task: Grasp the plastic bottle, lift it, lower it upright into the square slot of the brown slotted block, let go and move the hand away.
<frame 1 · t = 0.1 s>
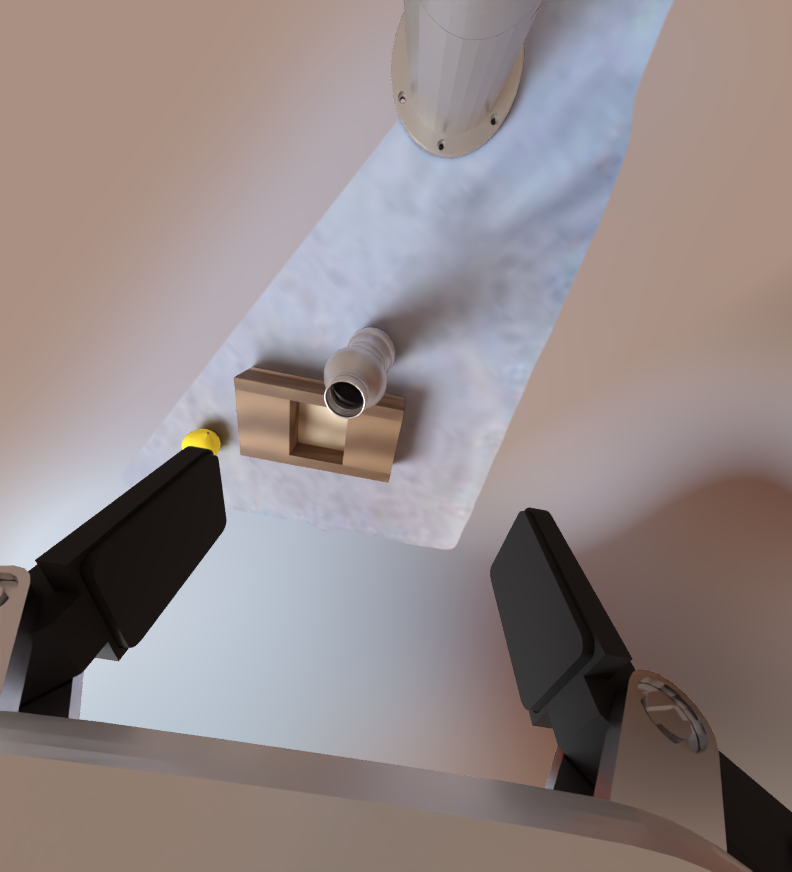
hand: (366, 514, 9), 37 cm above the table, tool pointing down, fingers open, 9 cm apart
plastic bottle: (374, 347, 43), on the table
lemon: (211, 436, 52), on the table
brown slotted block: (326, 419, 49), on the table
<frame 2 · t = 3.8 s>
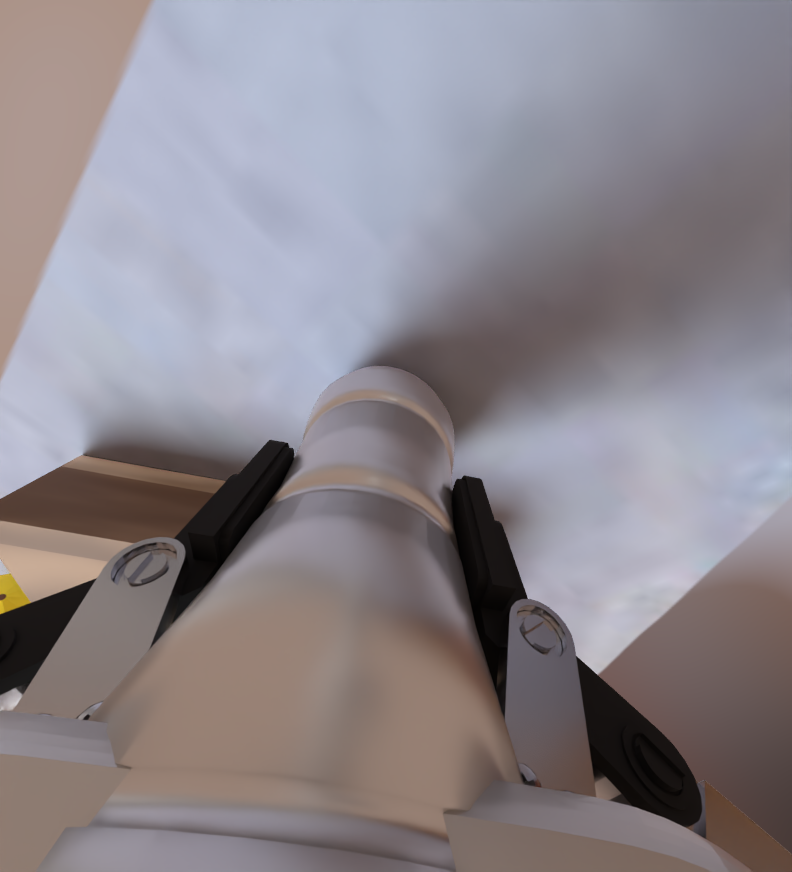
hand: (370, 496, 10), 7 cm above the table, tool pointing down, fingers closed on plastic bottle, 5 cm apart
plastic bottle: (386, 414, 16), on the table, touching gripper
lemon: (44, 577, 25), on the table
brown slotted block: (277, 558, 22), on the table
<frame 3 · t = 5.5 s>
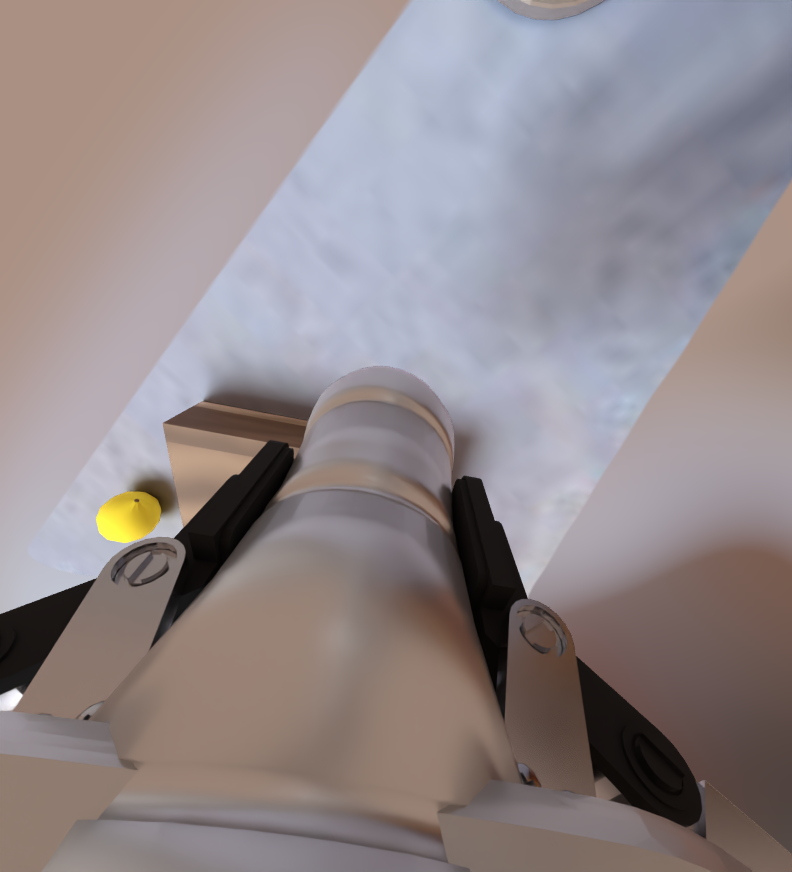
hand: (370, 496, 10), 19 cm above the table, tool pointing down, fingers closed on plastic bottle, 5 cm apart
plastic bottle: (386, 414, 16), point 12 cm above the table, touching gripper
lemon: (150, 499, 36), on the table
brown slotted block: (319, 476, 33), on the table
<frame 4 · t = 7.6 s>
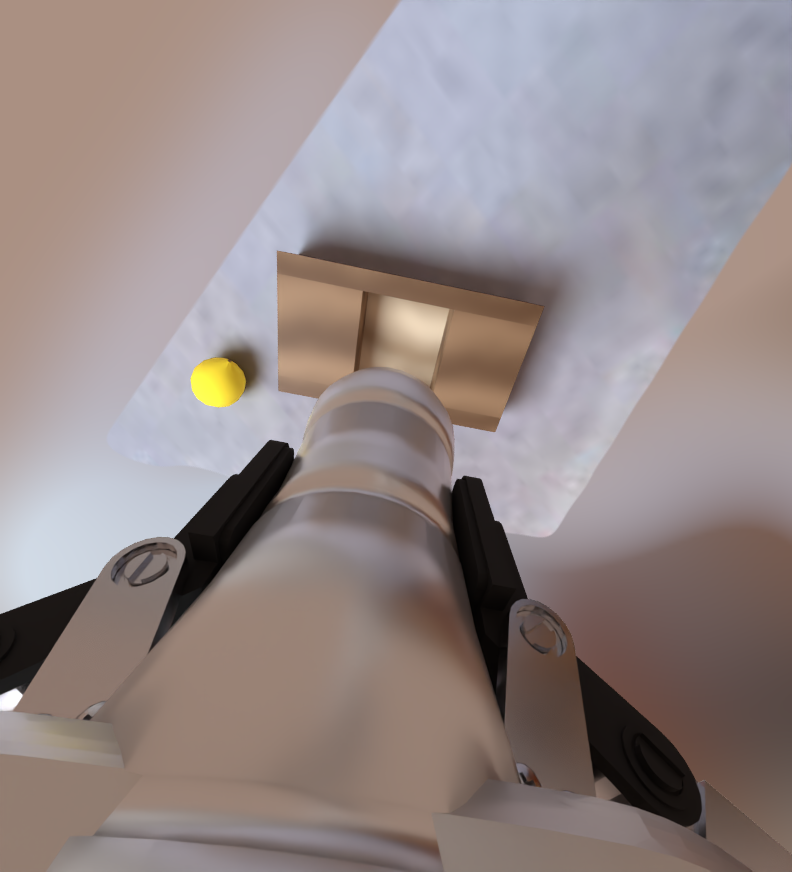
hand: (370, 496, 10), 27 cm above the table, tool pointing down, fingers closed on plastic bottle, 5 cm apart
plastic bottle: (386, 415, 16), point 20 cm above the table, touching gripper
lemon: (232, 374, 37), on the table
brown slotted block: (401, 342, 34), on the table
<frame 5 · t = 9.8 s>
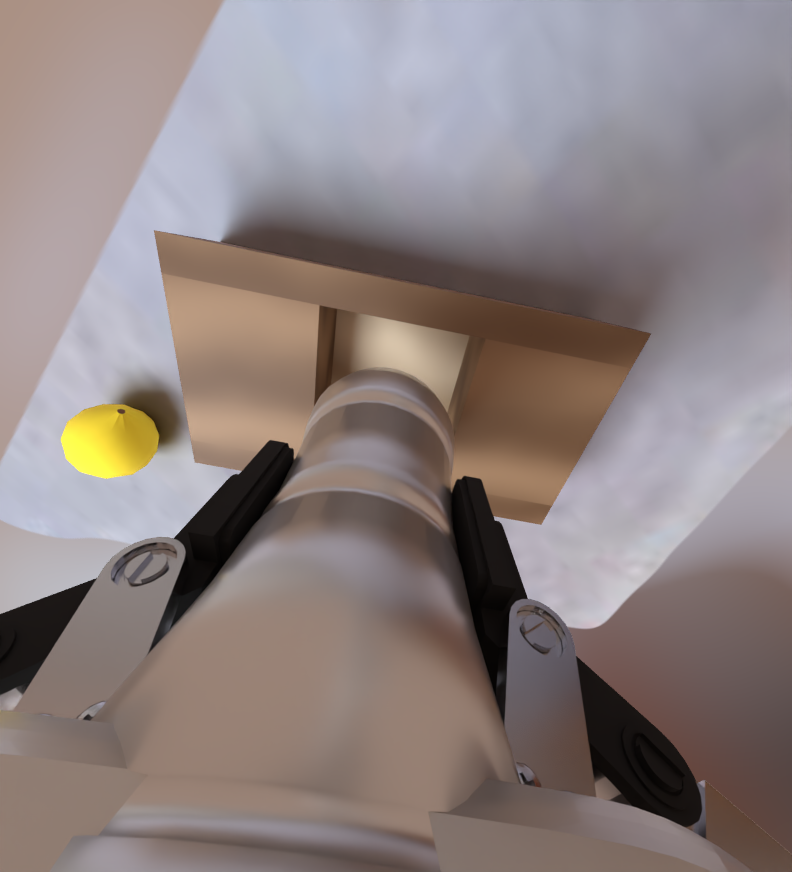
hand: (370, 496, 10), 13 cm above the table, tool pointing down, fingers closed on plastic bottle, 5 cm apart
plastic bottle: (386, 415, 16), point 7 cm above the table, touching gripper
lemon: (144, 423, 25), on the table
brown slotted block: (393, 380, 22), on the table
when the fingers open (9 cm above the table, at t = 11.4 s): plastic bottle drops 1 cm, resting on brown slotted block.
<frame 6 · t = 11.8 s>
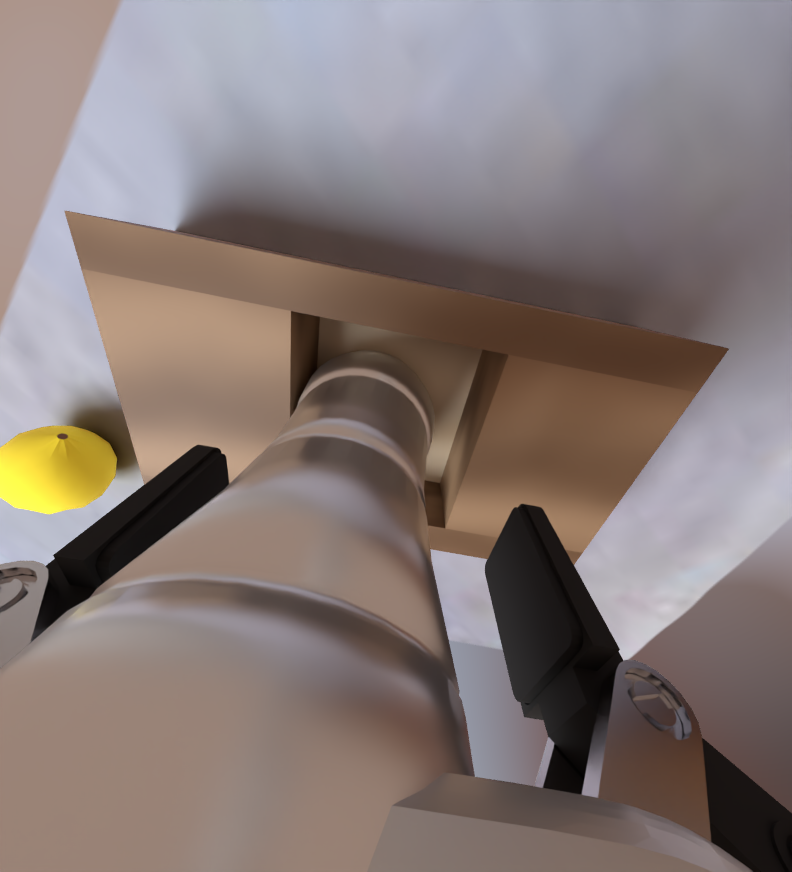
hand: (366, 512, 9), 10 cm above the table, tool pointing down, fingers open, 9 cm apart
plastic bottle: (374, 398, 17), point 1 cm above the table, touching brown slotted block
lemon: (101, 445, 21), on the table
brown slotted block: (390, 397, 18), on the table
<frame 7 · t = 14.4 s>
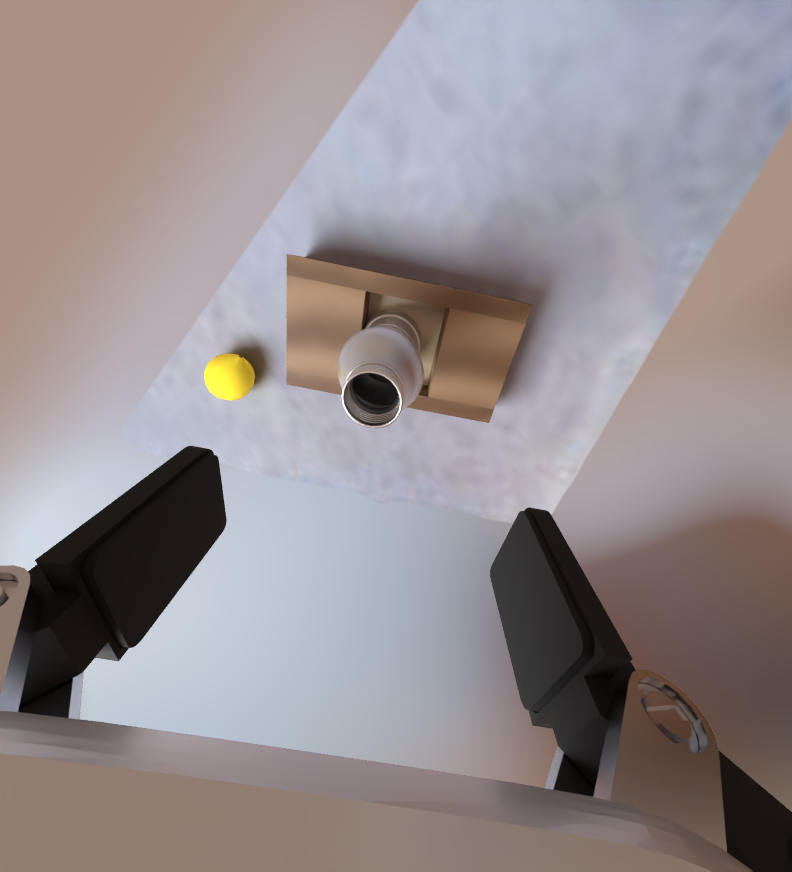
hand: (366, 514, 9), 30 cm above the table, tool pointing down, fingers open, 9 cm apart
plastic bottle: (394, 337, 35), point 1 cm above the table, touching brown slotted block
lemon: (242, 370, 39), on the table
brown slotted block: (401, 338, 36), on the table
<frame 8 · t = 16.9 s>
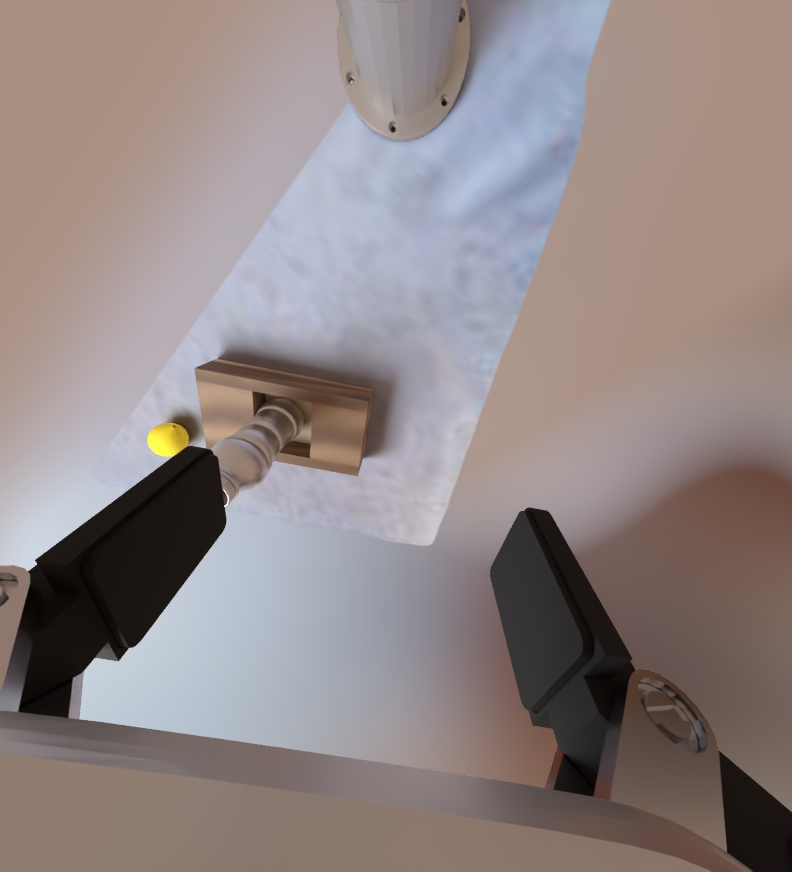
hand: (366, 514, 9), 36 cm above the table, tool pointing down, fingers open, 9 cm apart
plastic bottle: (287, 412, 47), point 1 cm above the table, touching brown slotted block
lemon: (180, 431, 52), on the table
brown slotted block: (295, 412, 48), on the table
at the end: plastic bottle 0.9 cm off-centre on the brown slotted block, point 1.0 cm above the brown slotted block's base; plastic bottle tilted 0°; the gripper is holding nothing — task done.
